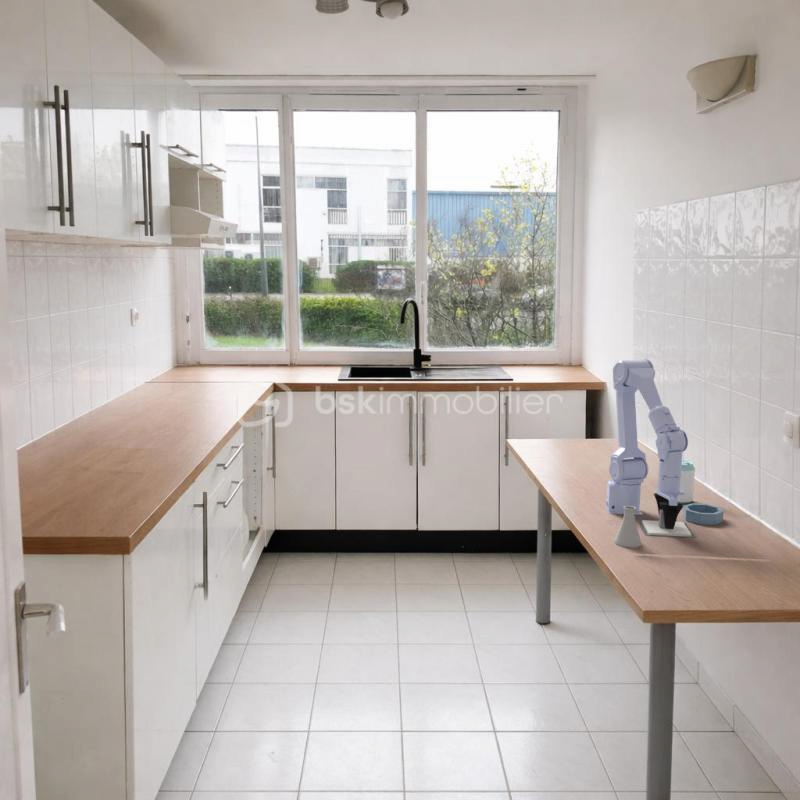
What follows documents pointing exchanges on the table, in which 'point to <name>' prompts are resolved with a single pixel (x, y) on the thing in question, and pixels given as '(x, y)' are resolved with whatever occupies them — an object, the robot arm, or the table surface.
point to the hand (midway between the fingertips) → (666, 524)
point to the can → (687, 482)
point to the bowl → (703, 514)
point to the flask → (628, 530)
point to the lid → (659, 527)
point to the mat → (664, 535)
